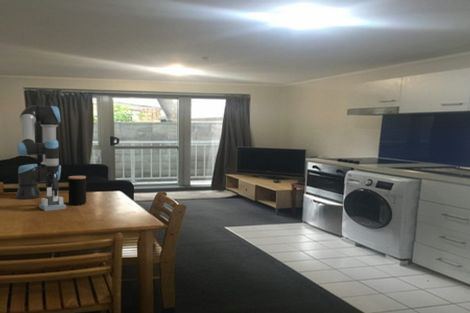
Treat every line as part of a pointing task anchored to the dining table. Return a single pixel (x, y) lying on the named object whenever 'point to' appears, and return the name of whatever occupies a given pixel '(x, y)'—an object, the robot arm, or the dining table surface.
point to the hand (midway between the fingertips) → (52, 199)
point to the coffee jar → (77, 190)
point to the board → (52, 207)
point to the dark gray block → (51, 201)
